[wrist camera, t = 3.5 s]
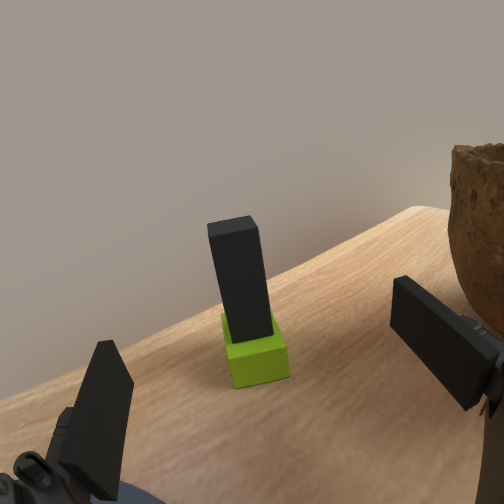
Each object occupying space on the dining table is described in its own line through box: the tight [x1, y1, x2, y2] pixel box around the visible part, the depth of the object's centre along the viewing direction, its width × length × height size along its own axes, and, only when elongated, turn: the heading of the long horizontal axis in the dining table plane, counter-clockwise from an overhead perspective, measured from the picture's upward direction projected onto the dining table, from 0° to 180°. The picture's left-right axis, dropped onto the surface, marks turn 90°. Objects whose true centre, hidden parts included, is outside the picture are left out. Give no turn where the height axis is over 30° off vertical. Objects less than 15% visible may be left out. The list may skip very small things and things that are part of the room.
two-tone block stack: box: [207, 216, 290, 389], centre depth 22 cm, size 6×4×11 cm, turn 9°
